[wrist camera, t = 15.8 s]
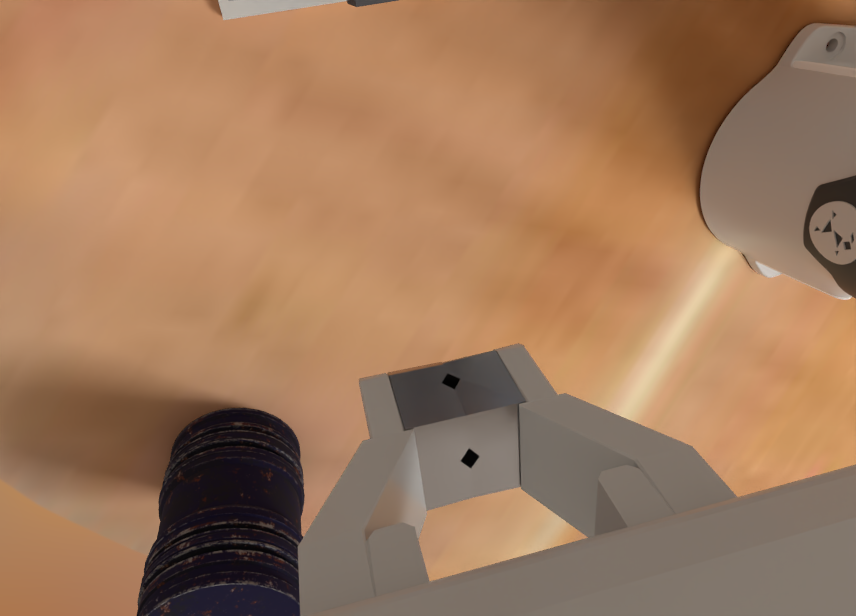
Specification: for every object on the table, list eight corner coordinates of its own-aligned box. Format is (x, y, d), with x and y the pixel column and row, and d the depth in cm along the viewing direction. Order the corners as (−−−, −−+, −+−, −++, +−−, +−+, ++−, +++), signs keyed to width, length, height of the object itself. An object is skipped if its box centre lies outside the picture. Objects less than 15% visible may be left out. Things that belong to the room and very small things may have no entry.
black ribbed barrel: (323, 429, 47) (342, 598, 34) (269, 514, 50) (268, 698, 37) (199, 390, 42) (167, 567, 30) (148, 485, 46) (100, 682, 33)
